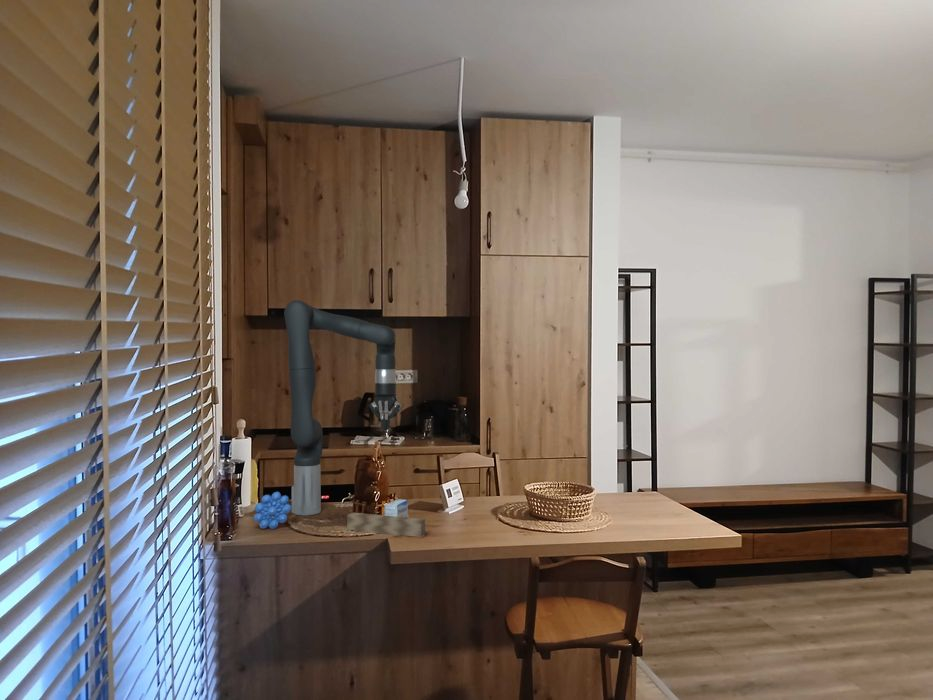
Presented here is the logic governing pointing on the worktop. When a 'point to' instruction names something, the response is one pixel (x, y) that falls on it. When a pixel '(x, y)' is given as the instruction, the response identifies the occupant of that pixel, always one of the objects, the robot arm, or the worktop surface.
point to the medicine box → (397, 508)
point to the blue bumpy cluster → (272, 510)
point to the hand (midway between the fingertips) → (385, 429)
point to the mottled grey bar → (386, 524)
